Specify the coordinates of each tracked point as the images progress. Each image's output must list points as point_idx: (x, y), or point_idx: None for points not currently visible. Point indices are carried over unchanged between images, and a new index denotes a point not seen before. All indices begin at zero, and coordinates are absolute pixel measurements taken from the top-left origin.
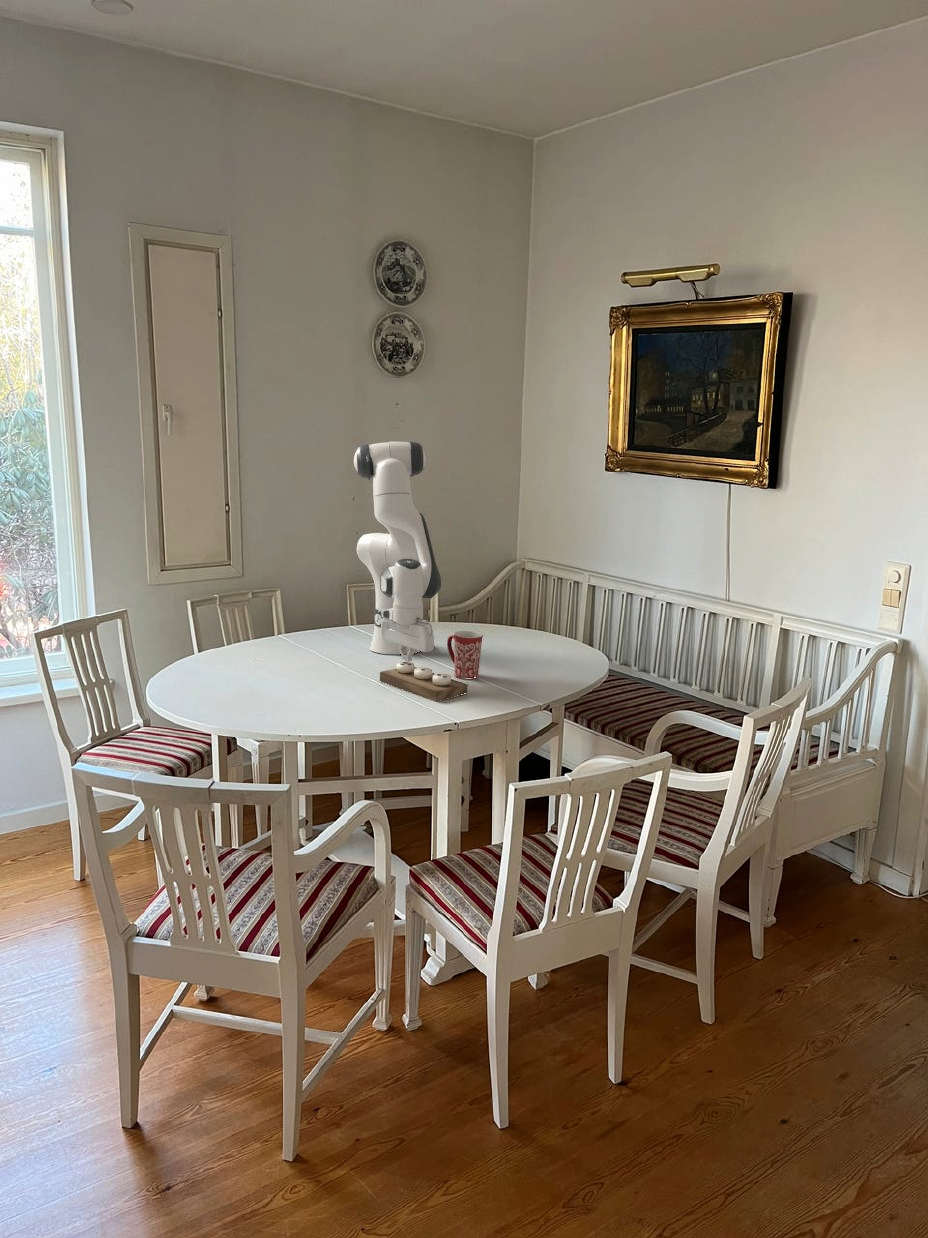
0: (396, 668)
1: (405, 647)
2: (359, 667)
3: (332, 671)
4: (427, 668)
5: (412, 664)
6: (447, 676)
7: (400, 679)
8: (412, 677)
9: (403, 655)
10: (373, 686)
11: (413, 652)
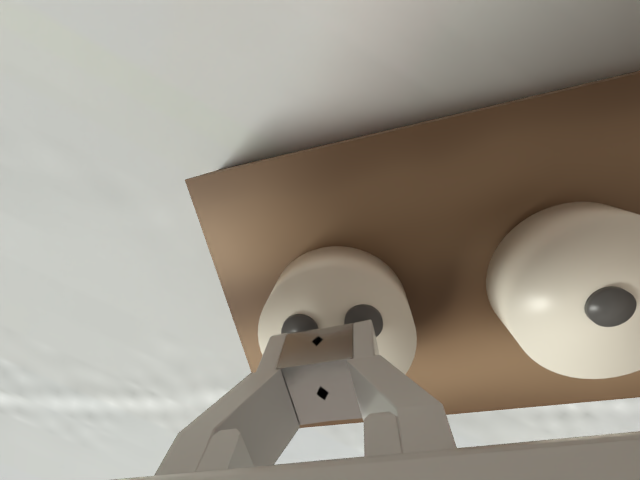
0: (232, 313)
1: (249, 459)
2: (7, 347)
3: (62, 465)
4: (590, 240)
5: (373, 294)
6: None
7: (482, 408)
8: (498, 331)
9: (309, 414)
10: (349, 440)
11: (414, 392)
